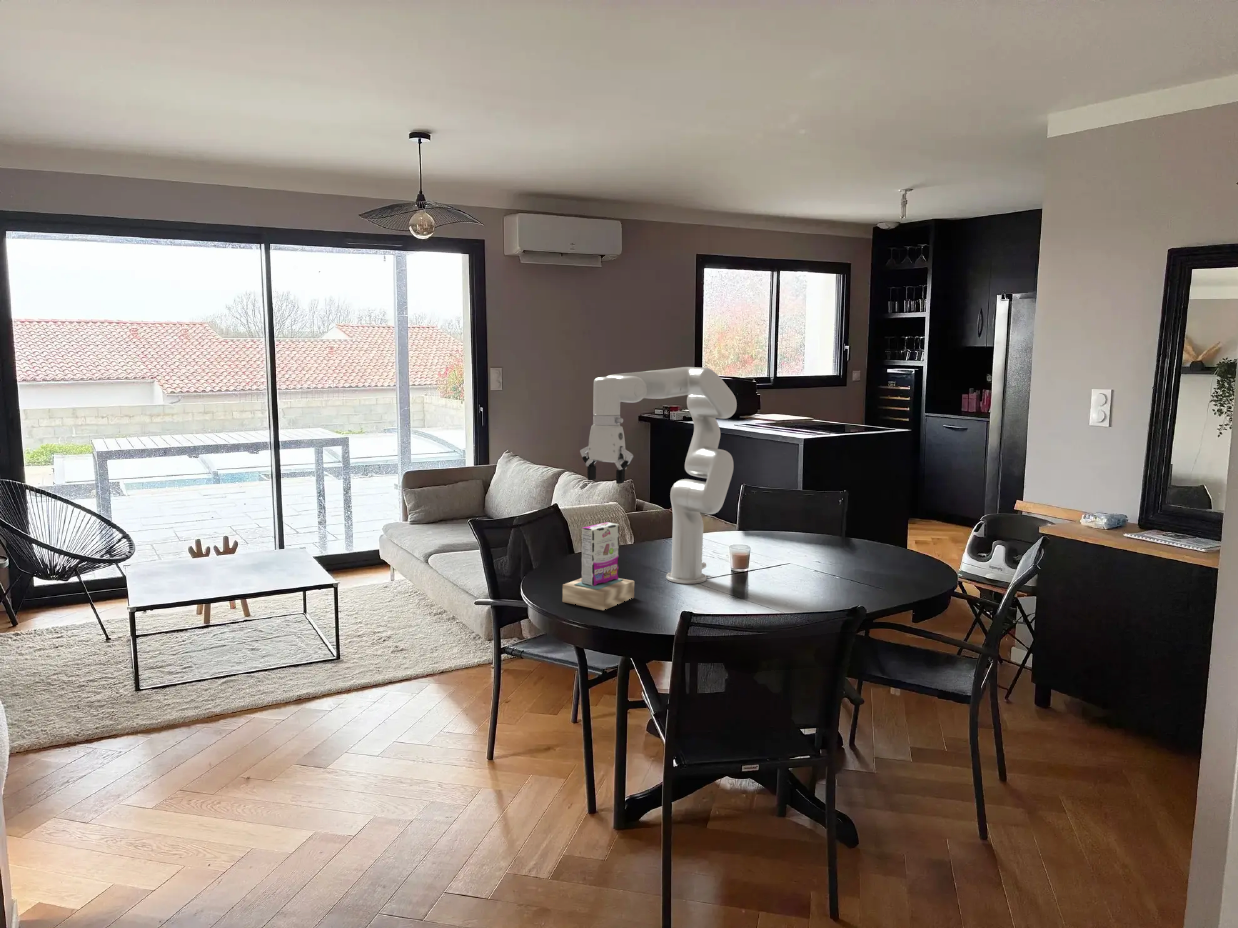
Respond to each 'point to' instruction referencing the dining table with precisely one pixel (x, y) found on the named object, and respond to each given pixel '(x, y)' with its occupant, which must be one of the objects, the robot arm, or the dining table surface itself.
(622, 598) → the wooden brick
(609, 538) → the candy bar box
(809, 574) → the dining table surface
